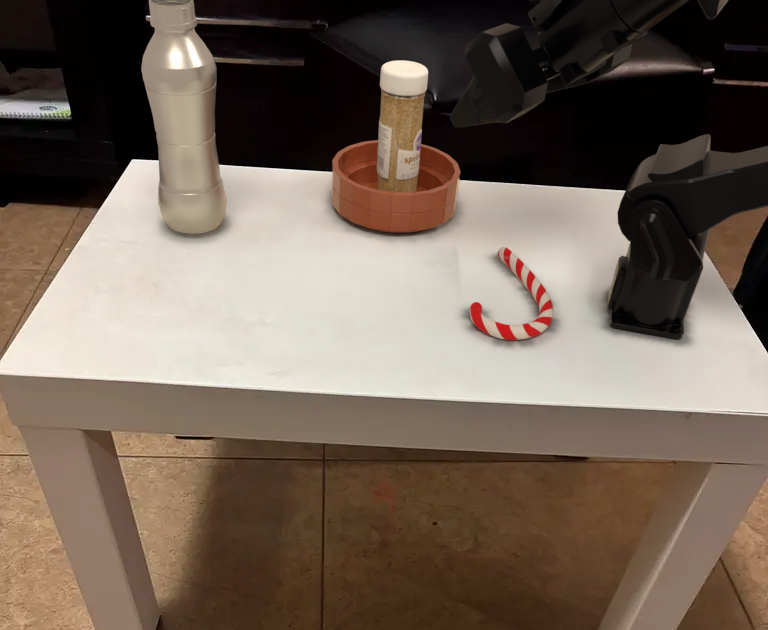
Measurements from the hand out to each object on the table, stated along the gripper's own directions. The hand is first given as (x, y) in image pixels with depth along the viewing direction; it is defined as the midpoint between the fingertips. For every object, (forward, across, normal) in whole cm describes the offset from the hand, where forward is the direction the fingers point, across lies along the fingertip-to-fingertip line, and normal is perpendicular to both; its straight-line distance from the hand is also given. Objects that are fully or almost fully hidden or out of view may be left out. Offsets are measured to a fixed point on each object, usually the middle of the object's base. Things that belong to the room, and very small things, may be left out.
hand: (483, 108), depth 73 cm
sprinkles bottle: (+17, -2, +2) cm, 17 cm away
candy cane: (+4, +5, +15) cm, 17 cm away
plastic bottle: (+25, +16, -6) cm, 30 cm away
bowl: (+17, -2, +2) cm, 17 cm away
